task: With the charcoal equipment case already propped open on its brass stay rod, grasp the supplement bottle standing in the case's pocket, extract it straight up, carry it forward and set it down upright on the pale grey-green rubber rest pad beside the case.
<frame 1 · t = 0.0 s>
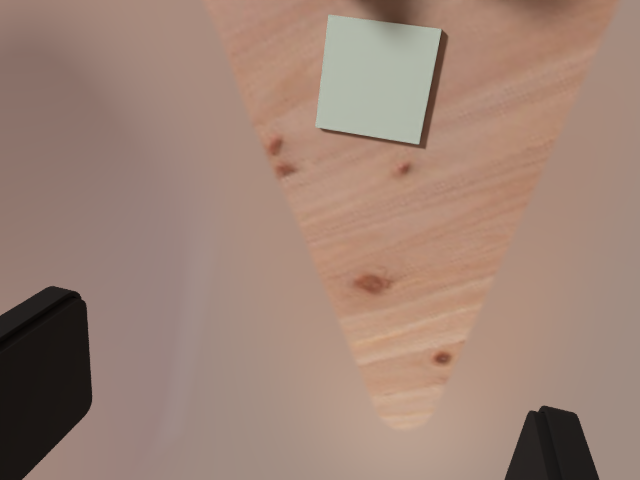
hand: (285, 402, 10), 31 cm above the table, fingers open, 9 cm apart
rest pad: (375, 80, 38), on the table
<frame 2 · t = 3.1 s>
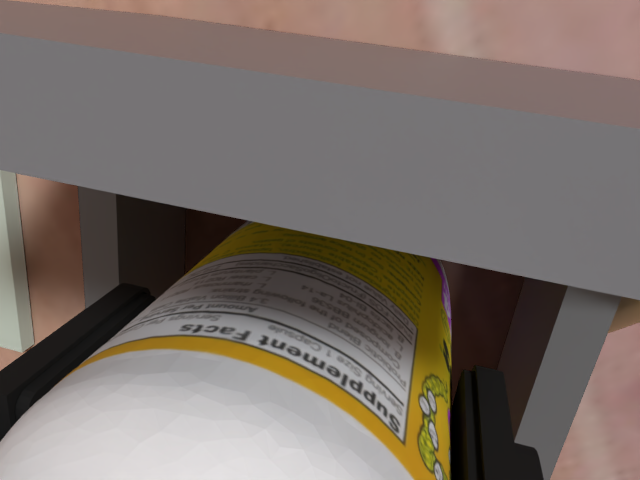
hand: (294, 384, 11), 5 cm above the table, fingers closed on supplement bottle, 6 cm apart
supplement bottle: (339, 285, 16), resting in case, touching gripper
case: (338, 289, 15), on the table
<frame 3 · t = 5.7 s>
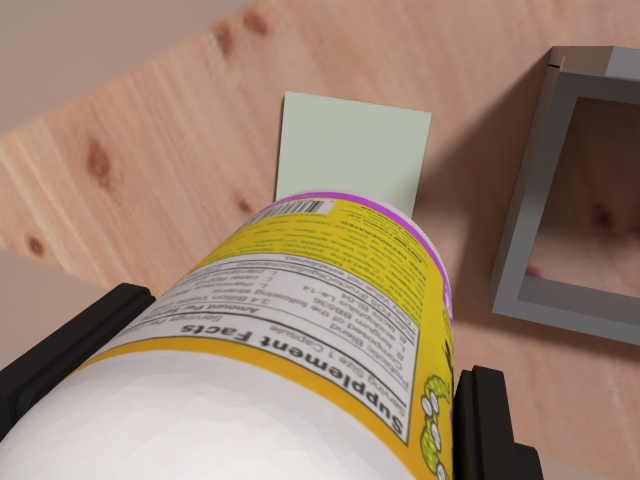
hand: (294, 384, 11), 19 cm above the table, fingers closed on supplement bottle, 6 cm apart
supplement bottle: (340, 286, 15), point 15 cm above the table, touching gripper
rest pad: (348, 172, 29), on the table
case: (637, 205, 26), on the table
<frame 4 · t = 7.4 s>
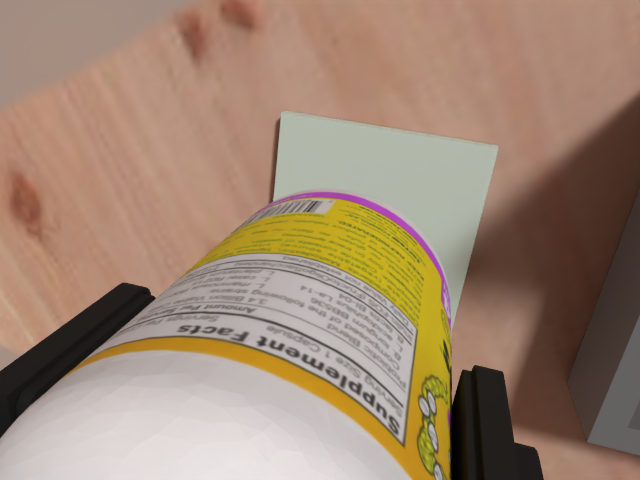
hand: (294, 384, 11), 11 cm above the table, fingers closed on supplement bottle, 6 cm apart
supplement bottle: (339, 286, 15), point 6 cm above the table, touching gripper
rest pad: (370, 226, 21), on the table
when the fingers open (7 cm above the table, at t = 8.6 s): supplement bottle drops 2 cm, resting on rest pad.
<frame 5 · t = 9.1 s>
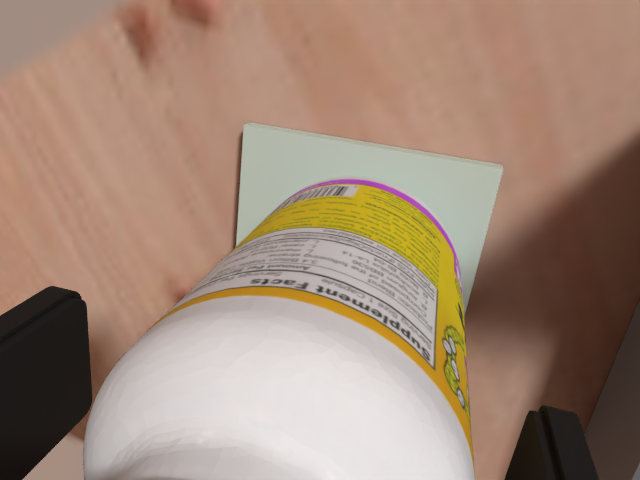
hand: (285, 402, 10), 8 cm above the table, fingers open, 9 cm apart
supplement bottle: (359, 265, 17), resting on rest pad
rest pad: (352, 257, 18), on the table
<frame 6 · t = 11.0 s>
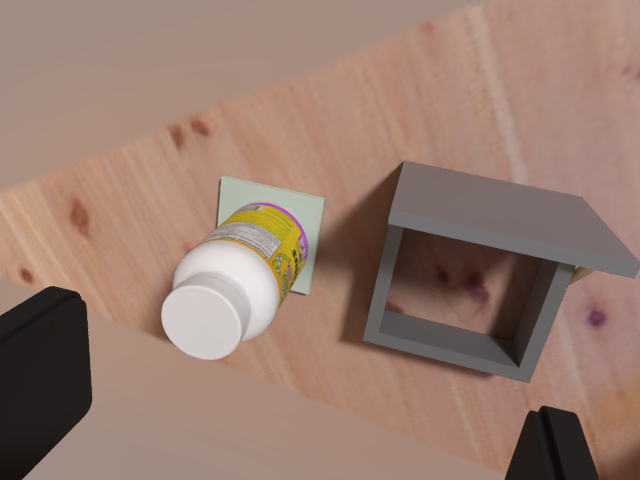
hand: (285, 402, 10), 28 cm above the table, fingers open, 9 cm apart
supplement bottle: (270, 238, 40), resting on rest pad
rest pad: (268, 234, 40), on the table
case: (464, 267, 38), on the table
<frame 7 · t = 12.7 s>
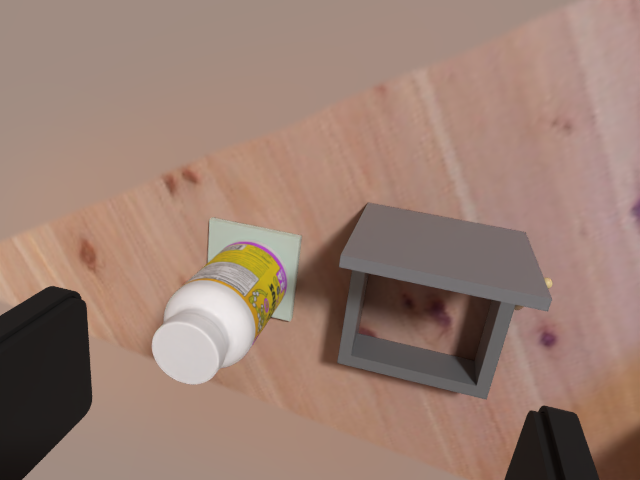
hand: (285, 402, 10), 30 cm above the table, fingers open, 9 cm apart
supplement bottle: (255, 271, 44), resting on rest pad
rest pad: (253, 268, 45), on the table
case: (426, 295, 42), on the table
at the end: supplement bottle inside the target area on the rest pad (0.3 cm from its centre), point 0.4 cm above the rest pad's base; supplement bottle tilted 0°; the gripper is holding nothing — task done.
